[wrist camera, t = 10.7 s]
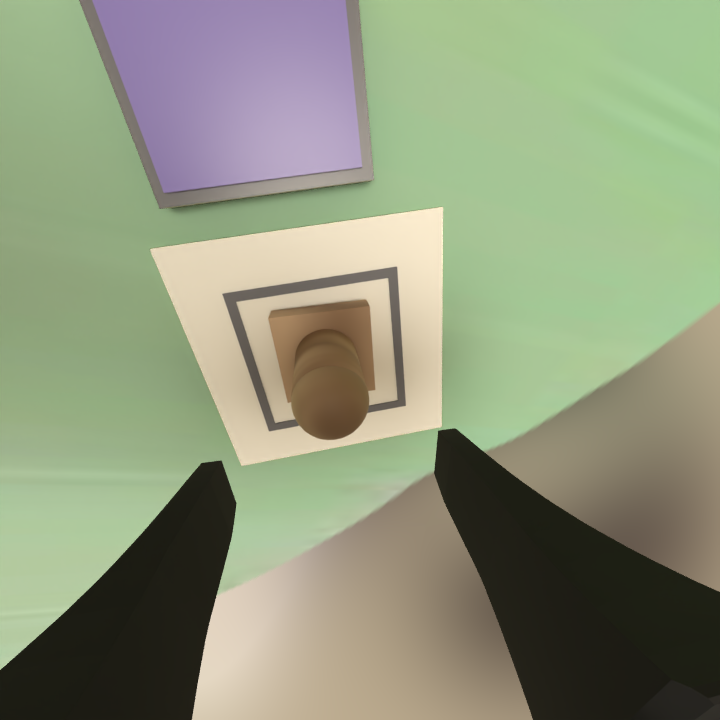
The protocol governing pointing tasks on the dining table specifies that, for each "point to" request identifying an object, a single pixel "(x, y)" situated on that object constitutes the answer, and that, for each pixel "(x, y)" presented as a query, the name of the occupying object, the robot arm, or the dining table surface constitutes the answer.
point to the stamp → (326, 365)
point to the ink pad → (238, 94)
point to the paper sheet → (309, 288)
